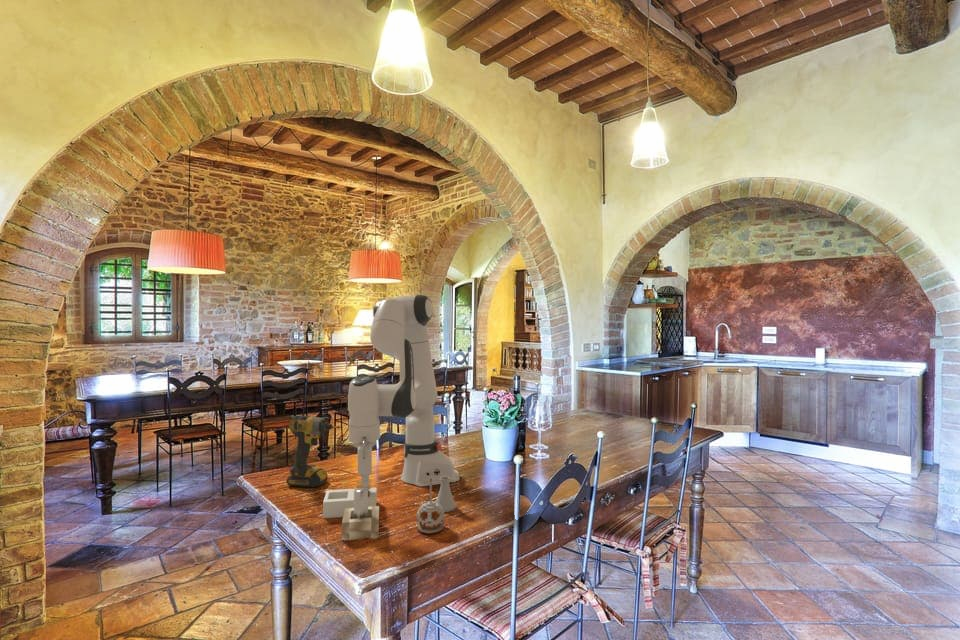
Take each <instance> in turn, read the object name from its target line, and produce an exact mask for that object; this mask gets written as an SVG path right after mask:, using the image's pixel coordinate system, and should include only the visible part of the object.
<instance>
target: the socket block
mask: <svg viewBox="0 0 960 640" xmlns="http://www.w3.org/2000/svg"><path fill="white" fill-rule="evenodd" d="M355 489H356V488H347V489H346V488H345V489H327V490H326V492H325V495H324V498H323V502H322V519H333V518H343V515H344V510H345V508H354V490H355ZM377 490H378V489H377V486H376V487H371V488H370V489H369V497H368V507H372V506H377V497H378V496H377V495H378V494H377V492H378V491H377Z"/></svg>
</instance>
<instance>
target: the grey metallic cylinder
mask: <svg viewBox="0 0 960 640" xmlns="http://www.w3.org/2000/svg"><path fill="white" fill-rule="evenodd" d="M354 489H355V490H354V519H360V518H368V489H367V488H357V489H356V488H354Z"/></svg>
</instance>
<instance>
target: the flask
mask: <svg viewBox="0 0 960 640" xmlns="http://www.w3.org/2000/svg"><path fill="white" fill-rule="evenodd" d="M440 480H441V484H440V488H439V491H438V494H437V497H436V500H435V503H439V505H441V507H442V509H443V511H444V513H449V512H452V511H453V512H454V511H455V509H456V508H457V504H456V502H455V500H454V497H453V494H452V491H451V486H450V483H449V480H450V477H445V476H444V477H441V478H440Z"/></svg>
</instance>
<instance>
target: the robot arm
mask: <svg viewBox="0 0 960 640" xmlns="http://www.w3.org/2000/svg"><path fill="white" fill-rule="evenodd" d="M372 315H373V316H372V317H373V320H372V323H371V328H370V333H369V334H370V335H369V336H370V337H369V338H370V342H371V345H372V346H373V347H374V348H375V349H376V350H377V351H378V352H380V353H381V354H383V355H386V356H389V357H391V358H394V359H395V360H398V362H399V364H398V365H399V382H398V383H393V384H389V383H388V384H385V383H384V384H380V383H379V384H378V382H377V379H376V378H375V376H370V375H369V376H368V375H363V376H359V377H355V378H353V379H352V380H350V382H349V387H348V394H347V395H348V396H347V411H348V414H349V420H348V441H349V442H350V443H353V446H354V448H357V475H358V476H360V477H361V480H362V487H368V486H369V479H370V475H371V474H372V473H373V472H372V471H373V466H372V465H373V463H372V461H373V459H372V458H373V457H372V455H373V454H372V453H373V447H374V446H375V445H376V444H377V441H379V439H381V423H380V417H395V418H404V419H405V440H404V444H403V455H404V464H403V468H402V474H401V477H400V480H401V481H402V482H404V483H406V484H411V485H415V486H417V487H427V486H429V487H430V478H432V486H434V485H441V480H440V478H441V477H444V476H445V477H450V480H449V484H451V483H457V482H458V481H460V473H459V472H458V470H456V469H455V468H454V463H453V461H452V459H451V458H450V457H449V456H448V455H446V454H445V453H443V451H441V450H442V448H443V447H442V444H441V443H440V442H438V441H437V440H435V416H434V405H435V404H436V402H437V399H438V388H437V383H436V378H435V377H436V376H435V371H434V366H433V362H432V355H431V354H432V353H431V345H430V336H429V331H428V326H427V323H429V322H430V320H431V319H432V316H433V305H432V301H431V299H430V298H429V297H428V296H427V295H423V294H416V295H400V296H397V297H392V298H383V299H381V300H378V301H377V302H376V303H375V304H374V307H373V310H372ZM456 481H457V482H456ZM450 482H451V483H450Z"/></svg>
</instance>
